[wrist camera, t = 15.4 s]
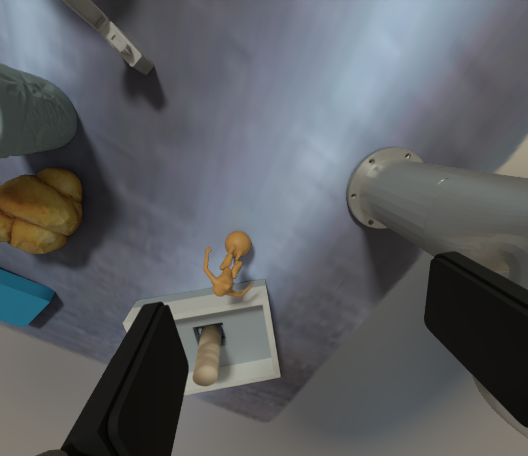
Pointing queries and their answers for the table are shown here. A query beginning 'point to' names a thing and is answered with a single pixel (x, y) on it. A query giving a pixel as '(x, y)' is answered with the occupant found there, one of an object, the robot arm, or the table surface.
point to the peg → (208, 355)
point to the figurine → (236, 247)
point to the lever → (21, 299)
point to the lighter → (111, 34)
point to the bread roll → (40, 210)
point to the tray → (236, 330)
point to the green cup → (32, 114)
